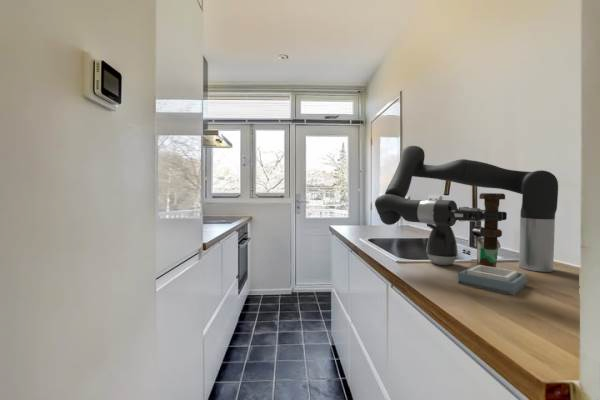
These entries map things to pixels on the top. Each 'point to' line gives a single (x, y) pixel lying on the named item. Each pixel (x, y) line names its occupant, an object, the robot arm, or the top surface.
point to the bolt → (490, 226)
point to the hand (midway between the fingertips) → (504, 216)
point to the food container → (486, 254)
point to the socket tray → (493, 279)
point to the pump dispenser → (441, 245)
